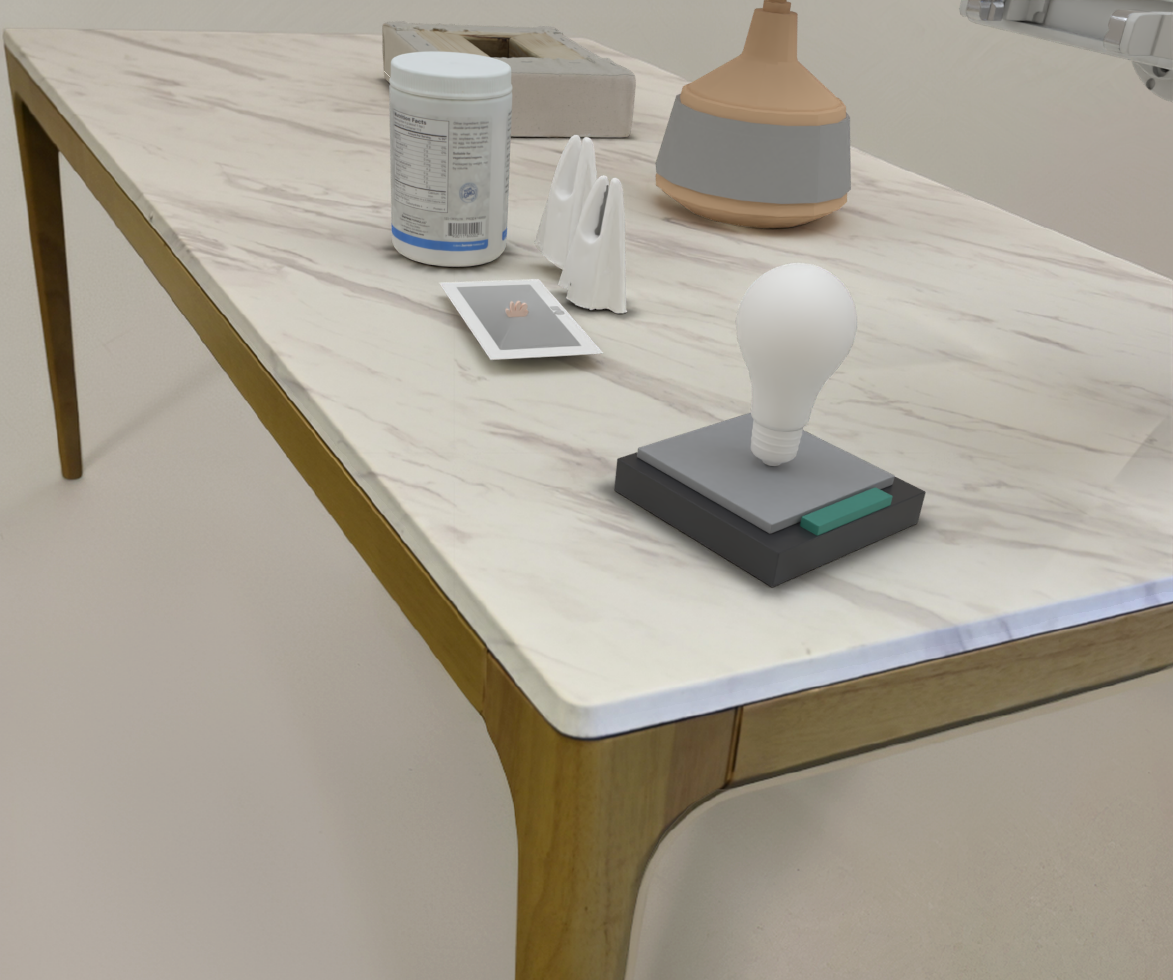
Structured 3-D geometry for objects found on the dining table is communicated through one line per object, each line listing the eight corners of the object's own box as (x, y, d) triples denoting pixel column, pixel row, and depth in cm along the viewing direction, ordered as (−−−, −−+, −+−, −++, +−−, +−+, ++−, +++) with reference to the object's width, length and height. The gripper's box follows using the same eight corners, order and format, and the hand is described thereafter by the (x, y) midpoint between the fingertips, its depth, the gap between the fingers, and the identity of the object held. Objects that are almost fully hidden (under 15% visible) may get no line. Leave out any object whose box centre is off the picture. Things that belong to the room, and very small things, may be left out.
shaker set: (530, 264, 100) (538, 123, 94) (579, 262, 102) (589, 123, 96) (577, 316, 91) (589, 163, 85) (629, 313, 92) (645, 163, 86)
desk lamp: (718, 171, 132) (772, -238, 112) (881, 210, 123) (970, -226, 104) (604, 207, 116) (644, -260, 97) (782, 255, 108) (864, -247, 88)
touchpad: (490, 375, 80) (491, 343, 79) (438, 296, 92) (438, 268, 91) (602, 368, 83) (604, 338, 82) (538, 292, 95) (539, 265, 93)
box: (378, 80, 159) (437, 138, 134) (378, 15, 155) (439, 62, 130) (547, 85, 167) (633, 141, 142) (552, 23, 163) (641, 69, 138)
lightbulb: (751, 497, 63) (786, 290, 57) (695, 446, 68) (722, 249, 62) (849, 482, 65) (893, 282, 59) (789, 433, 70) (824, 243, 64)
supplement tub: (432, 227, 107) (433, 45, 99) (527, 249, 104) (536, 63, 96) (367, 253, 99) (363, 60, 91) (467, 279, 96) (472, 80, 88)
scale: (918, 523, 68) (929, 481, 66) (772, 587, 61) (780, 542, 59) (759, 441, 75) (766, 402, 74) (613, 490, 68) (617, 448, 67)
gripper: (1082, -72, 72) (909, -82, 66) (1425, -21, 58) (1245, -27, 51) (1052, 43, 75) (884, 45, 69) (1368, 119, 61) (1193, 130, 55)
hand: (1040, 15), depth 60 cm, fingers open, 8 cm apart
